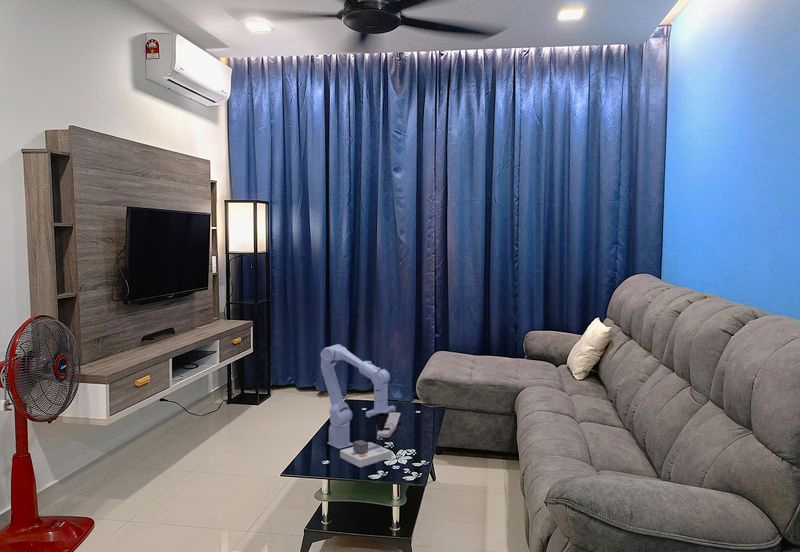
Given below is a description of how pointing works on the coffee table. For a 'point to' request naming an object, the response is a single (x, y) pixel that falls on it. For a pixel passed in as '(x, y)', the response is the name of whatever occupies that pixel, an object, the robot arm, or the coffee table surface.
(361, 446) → the switch lever
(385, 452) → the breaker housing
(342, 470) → the coffee table surface
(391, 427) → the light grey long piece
